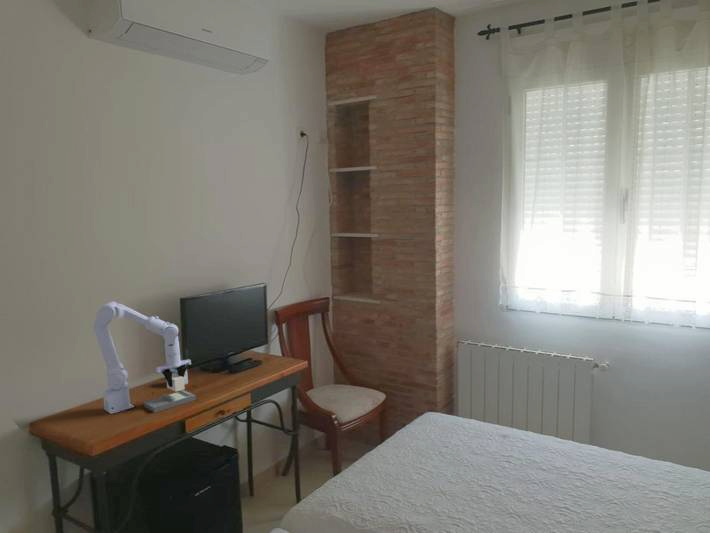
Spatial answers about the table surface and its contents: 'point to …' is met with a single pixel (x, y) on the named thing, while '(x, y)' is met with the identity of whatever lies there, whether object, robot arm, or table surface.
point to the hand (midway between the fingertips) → (175, 384)
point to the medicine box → (174, 371)
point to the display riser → (169, 401)
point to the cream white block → (177, 383)
